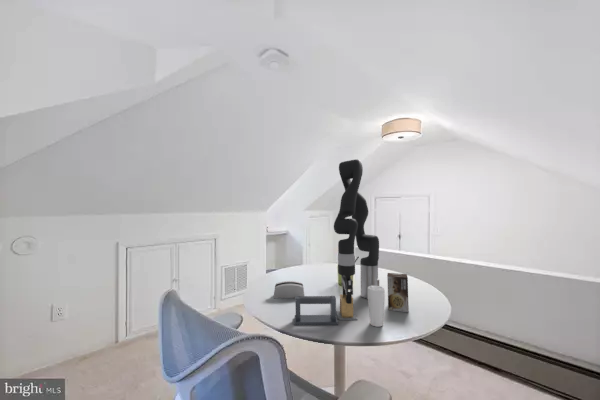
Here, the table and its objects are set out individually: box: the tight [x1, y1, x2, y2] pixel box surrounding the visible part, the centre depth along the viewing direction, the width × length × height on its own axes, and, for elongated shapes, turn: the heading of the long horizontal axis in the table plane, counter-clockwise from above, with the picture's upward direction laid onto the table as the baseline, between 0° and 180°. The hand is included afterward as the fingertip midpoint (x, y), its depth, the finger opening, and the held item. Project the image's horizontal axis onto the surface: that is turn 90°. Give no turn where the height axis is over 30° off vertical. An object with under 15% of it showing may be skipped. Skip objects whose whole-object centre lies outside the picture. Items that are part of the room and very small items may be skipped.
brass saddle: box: [339, 293, 354, 318], centre depth 114 cm, size 5×5×8 cm
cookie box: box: [386, 272, 410, 313], centre depth 122 cm, size 9×6×16 cm
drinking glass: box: [367, 285, 386, 328], centre depth 106 cm, size 7×7×15 cm
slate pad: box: [336, 310, 358, 321], centre depth 114 cm, size 8×8×1 cm
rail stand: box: [293, 295, 339, 326], centre depth 109 cm, size 18×7×10 cm, turn 90°
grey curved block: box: [273, 280, 305, 299], centre depth 138 cm, size 17×5×10 cm, turn 93°
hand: (347, 299), depth 114 cm, fingers open, 8 cm apart
